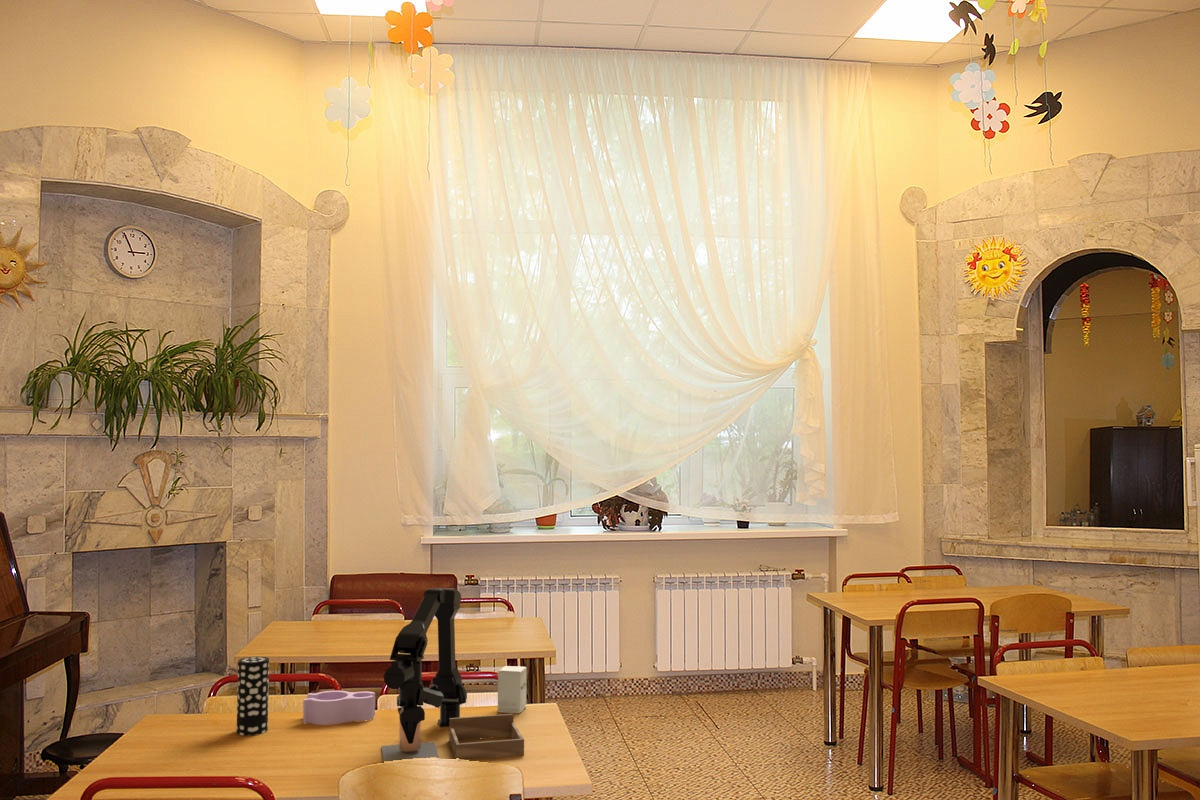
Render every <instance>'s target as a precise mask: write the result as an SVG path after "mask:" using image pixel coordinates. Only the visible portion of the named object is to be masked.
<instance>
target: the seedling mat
mask: <svg viewBox="0 0 1200 800" xmlns="http://www.w3.org/2000/svg"><path fill="white" fill-rule="evenodd" d="M436 746H437V745H436V743H435V741H430V742H429V741H425V742H421V748H420V749H419V750H416V751H401V750H399V744H387V745H381V757H382V763H383V762H384V761H393V760H402V759H413V758H427V757H428V758H430V757H437V758H439V759H440V756H439V753H438V749H437V747H436Z"/></svg>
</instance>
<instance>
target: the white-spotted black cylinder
mask: <svg viewBox="0 0 1200 800" xmlns="http://www.w3.org/2000/svg"><path fill="white" fill-rule="evenodd" d="M269 676H270V657H267V656H250V657H243V658H240V659H238V661H237V685H236V686H237V688H236V689H237V692H236V693H237V695H236V697H237V698H236V732H235V733H236V734H237V735H239V736H247V737H248V736H256V735H262V734H264V733H266V732H268V728H269V725H268V724H269V688H270V687H269V685H270V684H269V683H270V681H269V679H270V677H269Z"/></svg>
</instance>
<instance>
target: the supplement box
mask: <svg viewBox="0 0 1200 800" xmlns="http://www.w3.org/2000/svg"><path fill="white" fill-rule="evenodd" d="M527 668H528V667H527V666H520V665H519V666H516V665H513V666H511V665H504V666H503V667H502V668H500V669H499V670H498V671H497V713H504V714H518V713H519V714H520V712H521V713H522V711H524V710H525V709H526V708H527ZM525 705H526V706H525ZM524 708H525V709H524Z"/></svg>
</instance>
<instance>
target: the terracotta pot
mask: <svg viewBox="0 0 1200 800" xmlns="http://www.w3.org/2000/svg"><path fill="white" fill-rule="evenodd" d="M398 724H399V728H398V729H399V732H398V734H399V739H398V745H399V750H401V751H416V750H419V749H420V748H421V743H422V742H421V737H422V734H421V733H422V729H421V727H422V721H420V722H419V723H418V724H417V727H416V732H415V736H414V740H413V743H412V744H409V743H408V741H407V738H406V735H405V733H404V730H403V728H402V725H401V723H400V722H399V723H398Z"/></svg>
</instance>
